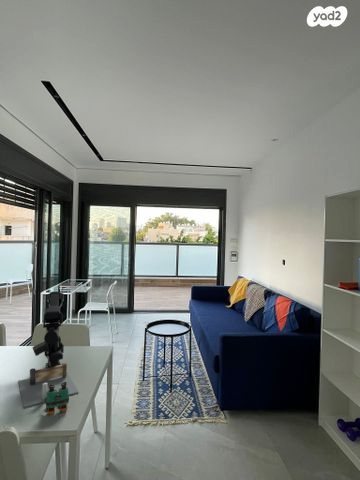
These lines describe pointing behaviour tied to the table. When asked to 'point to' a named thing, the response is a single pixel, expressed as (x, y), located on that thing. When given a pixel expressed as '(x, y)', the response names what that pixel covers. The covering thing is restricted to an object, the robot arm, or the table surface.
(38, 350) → the robot arm
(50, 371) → the wooden bar with ends
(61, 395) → the binoculars
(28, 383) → the gate base
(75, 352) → the table surface
